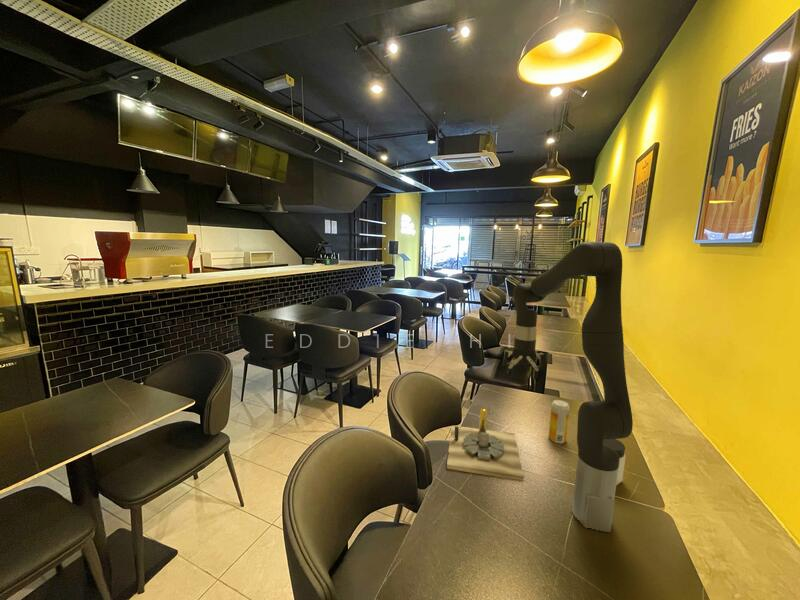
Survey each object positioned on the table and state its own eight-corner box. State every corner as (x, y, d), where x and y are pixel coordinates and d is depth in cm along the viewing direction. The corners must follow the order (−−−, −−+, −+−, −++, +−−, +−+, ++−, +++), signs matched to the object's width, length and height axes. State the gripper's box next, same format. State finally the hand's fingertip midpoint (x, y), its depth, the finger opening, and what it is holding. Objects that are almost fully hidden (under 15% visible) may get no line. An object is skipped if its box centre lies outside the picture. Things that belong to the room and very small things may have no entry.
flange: (505, 462, 105) (507, 437, 104) (462, 456, 108) (463, 431, 107) (500, 431, 123) (502, 409, 121) (464, 427, 126) (465, 405, 124)
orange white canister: (562, 435, 124) (565, 399, 121) (568, 445, 118) (572, 407, 115) (546, 434, 125) (549, 398, 122) (552, 443, 119) (555, 406, 116)
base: (523, 480, 100) (524, 462, 99) (446, 468, 105) (447, 450, 104) (514, 436, 123) (515, 421, 122) (451, 428, 128) (452, 413, 127)
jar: (589, 479, 100) (593, 445, 98) (588, 464, 107) (592, 432, 105) (623, 490, 96) (628, 454, 94) (620, 473, 103) (625, 440, 101)
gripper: (505, 338, 115) (503, 380, 118) (547, 341, 112) (544, 384, 115) (504, 333, 123) (502, 372, 125) (544, 335, 119) (540, 376, 122)
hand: (522, 378), depth 120 cm, fingers open, 8 cm apart
